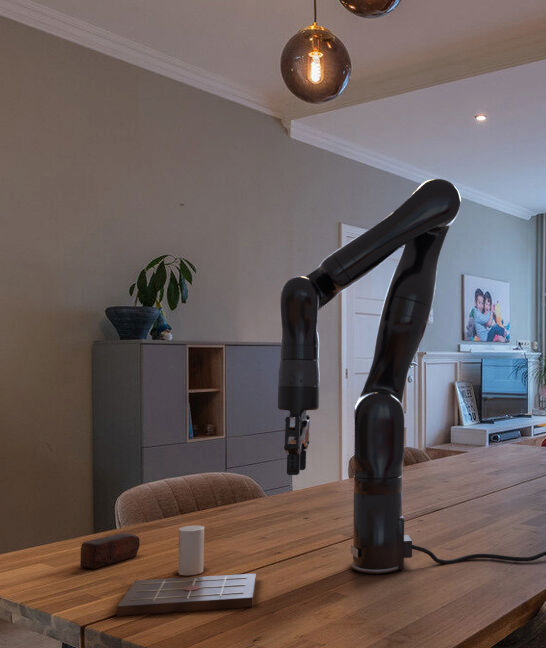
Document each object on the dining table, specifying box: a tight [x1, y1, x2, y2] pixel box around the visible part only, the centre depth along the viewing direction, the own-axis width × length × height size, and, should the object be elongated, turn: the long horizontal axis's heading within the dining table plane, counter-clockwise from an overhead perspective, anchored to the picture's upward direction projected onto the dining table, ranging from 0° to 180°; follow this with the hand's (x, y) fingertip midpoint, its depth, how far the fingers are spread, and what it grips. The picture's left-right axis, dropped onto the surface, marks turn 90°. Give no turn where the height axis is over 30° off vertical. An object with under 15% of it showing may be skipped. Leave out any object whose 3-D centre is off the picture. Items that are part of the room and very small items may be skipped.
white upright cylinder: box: [177, 524, 205, 576], centre depth 134 cm, size 4×4×8 cm
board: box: [116, 573, 257, 617], centre depth 119 cm, size 20×13×2 cm, turn 102°
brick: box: [79, 532, 141, 570], centre depth 140 cm, size 11×4×5 cm, turn 157°
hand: (296, 472), depth 134 cm, fingers open, 8 cm apart
